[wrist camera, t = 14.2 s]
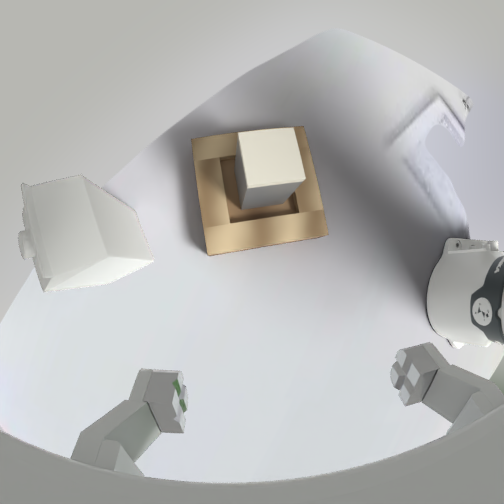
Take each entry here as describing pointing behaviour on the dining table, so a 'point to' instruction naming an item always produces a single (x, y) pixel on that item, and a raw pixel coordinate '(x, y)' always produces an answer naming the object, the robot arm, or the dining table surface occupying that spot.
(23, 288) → the dining table surface
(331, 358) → the dining table surface
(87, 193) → the milk carton
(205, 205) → the square wooden tray
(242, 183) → the plain greyish beige box
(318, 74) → the dining table surface
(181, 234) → the dining table surface
